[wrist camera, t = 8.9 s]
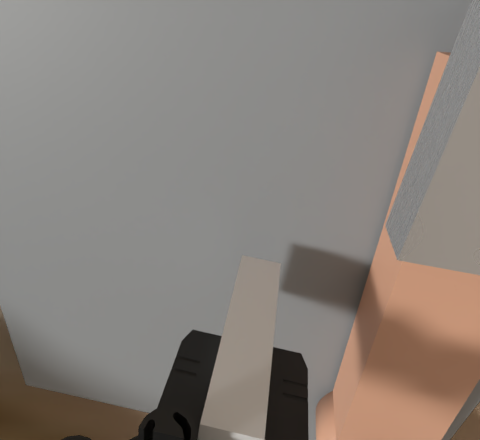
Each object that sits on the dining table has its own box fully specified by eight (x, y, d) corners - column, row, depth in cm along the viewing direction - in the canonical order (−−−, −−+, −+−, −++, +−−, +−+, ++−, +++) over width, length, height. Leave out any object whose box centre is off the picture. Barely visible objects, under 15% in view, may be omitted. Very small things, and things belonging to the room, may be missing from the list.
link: (399, 450, 21) (411, 508, 18) (308, 433, 21) (309, 486, 19) (608, 64, 10) (700, 82, 8) (415, 50, 11) (446, 62, 8)
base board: (419, 463, 23) (422, 475, 22) (32, 375, 25) (26, 384, 24) (795, -44, 9) (828, -47, 9) (-125, -143, 11) (-148, -151, 11)
